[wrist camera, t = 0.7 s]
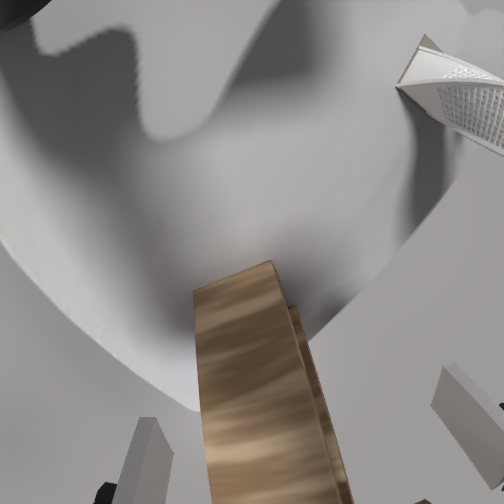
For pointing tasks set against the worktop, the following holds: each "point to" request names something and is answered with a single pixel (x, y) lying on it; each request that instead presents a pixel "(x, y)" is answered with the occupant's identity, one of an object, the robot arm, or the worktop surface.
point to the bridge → (262, 398)
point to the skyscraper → (456, 95)
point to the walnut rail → (423, 502)
